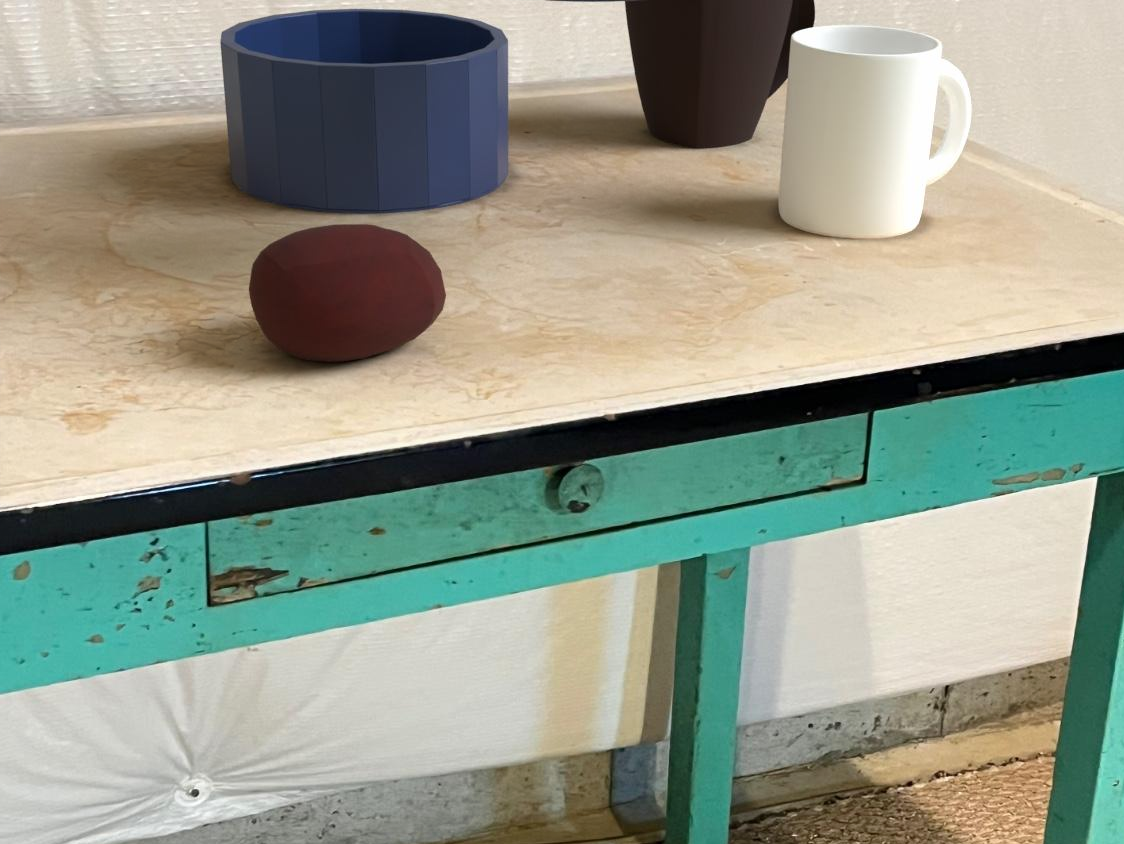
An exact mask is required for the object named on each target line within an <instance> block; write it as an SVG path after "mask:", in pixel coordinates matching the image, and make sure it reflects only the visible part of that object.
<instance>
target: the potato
mask: <svg viewBox="0 0 1124 844" xmlns="http://www.w3.org/2000/svg"><path fill="white" fill-rule="evenodd" d="M444 283H445V282H444V279H443V274H442V270H441V268H440V266H439V265H438V263H437V261H436V259H435V258H434V257H433V255H432V253H431V252H430V250H428V249H427V248H426V247H424V246H423V245H422V244H420V243H419V242H417V241H416V240H414V239H413V238H412V237H410V236H409V235H408V234H406V233H404V232H401V231H398V230H393V229H390V228H385V227H382V226H378V225H376V224H375V225H374V224H368V223H361V224H360V223H359V224H354V223H353V224H352V223H351V224H331V225H330V224H329V225H323V226H322V225H321V226H315V227H309V228H306V229H302V230H298V231H294V232H291V233H289V234H287V235H285V236H283V237H281V238H279V239H276V240H275V241H273V242H271V243H269V244H268V245H267V246H266V247H264V248H263V249H262V250H261V251H260V252H259V253H258V255H257V256H256V258H255V259H254V261H253V263H252V265H251V271H250V277H249V285H248V293H249V299H250V306H251V309H252V312H253V315H254V317H255V320H256V323H257V324H258V326H259V328H260V329H261V332H262V333H263V334H264V336H265V338H266V339H267V340H268V342H270V343H272V345H274V346H275V347H276V348H277V349H279V350H281V351H283V352H284V353H287V354H288V355H290V356H293V357H295V358H298V359H301V360H306V361H310V362H318V363H319V362H323V363H340V362H347V361H355V360H357V361H358V360H363V359H366V358H369V357H373V356H375V355H379V354H382V353H385V352H389V351H392V350H394V349H397V348H399V347H402V346H403V345H405V344H407V343H410V342H412V341H413V340H415V339H416V338H418V337H419V336H420V335H421V334H423V333H424V332H426V330H427V329H429V328H430V327H431V326H432V325H433V324H434V323H435V321H437V319H438V317H439V316H440V315H441V313H443V311H444V306H445V302H446V298H447V292H446V288H445V284H444Z"/></svg>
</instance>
